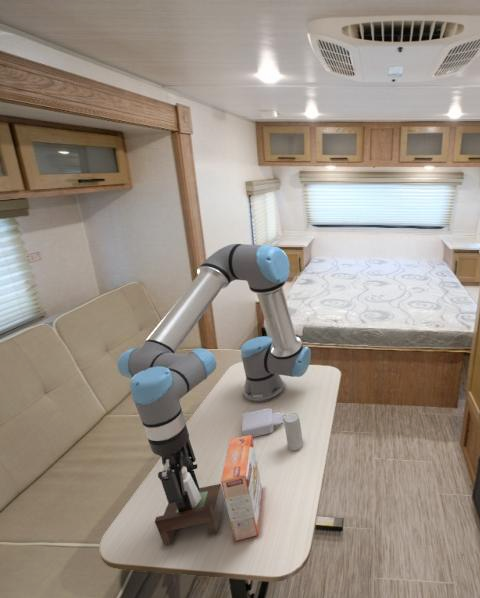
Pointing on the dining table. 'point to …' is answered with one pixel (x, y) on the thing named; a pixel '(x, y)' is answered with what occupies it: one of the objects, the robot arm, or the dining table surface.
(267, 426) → the charger
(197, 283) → the robot arm
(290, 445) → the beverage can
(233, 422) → the dining table surface
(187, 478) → the salt shaker
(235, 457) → the cracker box
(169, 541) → the shelf
